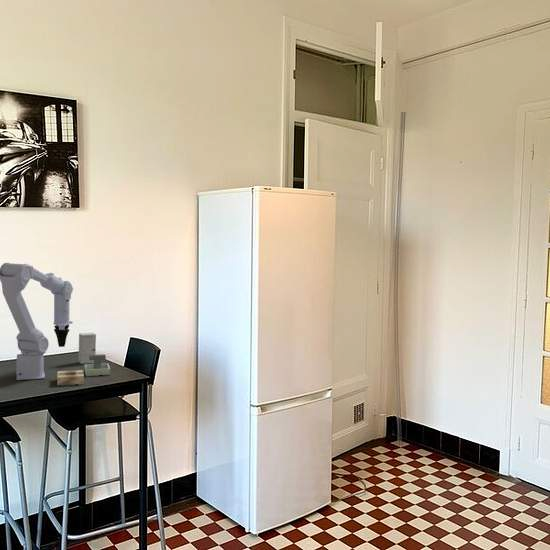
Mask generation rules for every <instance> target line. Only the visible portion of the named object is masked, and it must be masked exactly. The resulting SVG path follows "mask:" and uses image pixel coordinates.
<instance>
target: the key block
mask: <svg viewBox="0 0 550 550" xmlns="http://www.w3.org/2000/svg"><path fill="white" fill-rule="evenodd" d="M56 374H57V375H56V376H57V377H56V379H57V380H56V381H57V385H56V386H57V387H58V385H61V386H75V384H78V385H84V384H85V375H84V374H85V372H84V370H83V369H81V370H80V369H79V370H78V369H77V370H61V371H60V370H59V371H57V373H56Z"/></svg>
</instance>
